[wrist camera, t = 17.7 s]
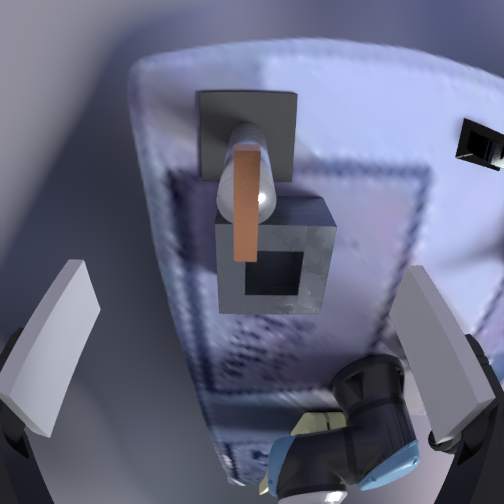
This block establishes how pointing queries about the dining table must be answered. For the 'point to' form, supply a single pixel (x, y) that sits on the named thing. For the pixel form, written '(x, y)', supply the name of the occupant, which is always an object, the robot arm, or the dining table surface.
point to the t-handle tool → (246, 188)
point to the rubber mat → (240, 111)
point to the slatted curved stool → (313, 430)
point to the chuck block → (278, 260)
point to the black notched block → (481, 145)
